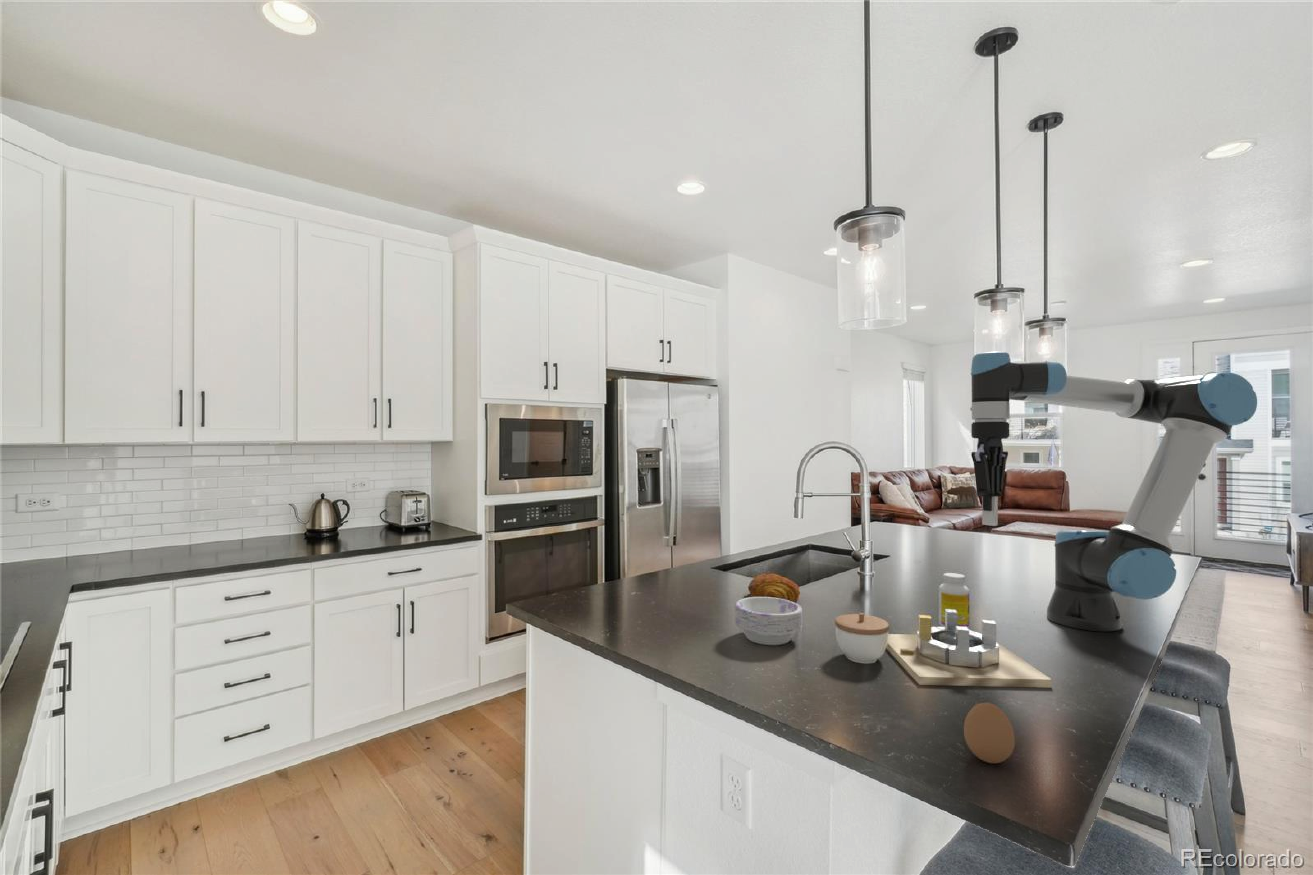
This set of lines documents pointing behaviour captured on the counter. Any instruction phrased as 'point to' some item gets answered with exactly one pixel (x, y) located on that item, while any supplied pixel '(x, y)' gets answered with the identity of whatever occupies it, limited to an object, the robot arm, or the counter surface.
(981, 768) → the counter surface
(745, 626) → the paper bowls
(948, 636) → the dark grey dome
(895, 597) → the counter surface
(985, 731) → the egg
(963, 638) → the ring nut
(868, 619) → the lidded jar
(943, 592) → the supplement bottle
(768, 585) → the croissant
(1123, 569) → the robot arm
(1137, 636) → the counter surface
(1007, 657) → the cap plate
